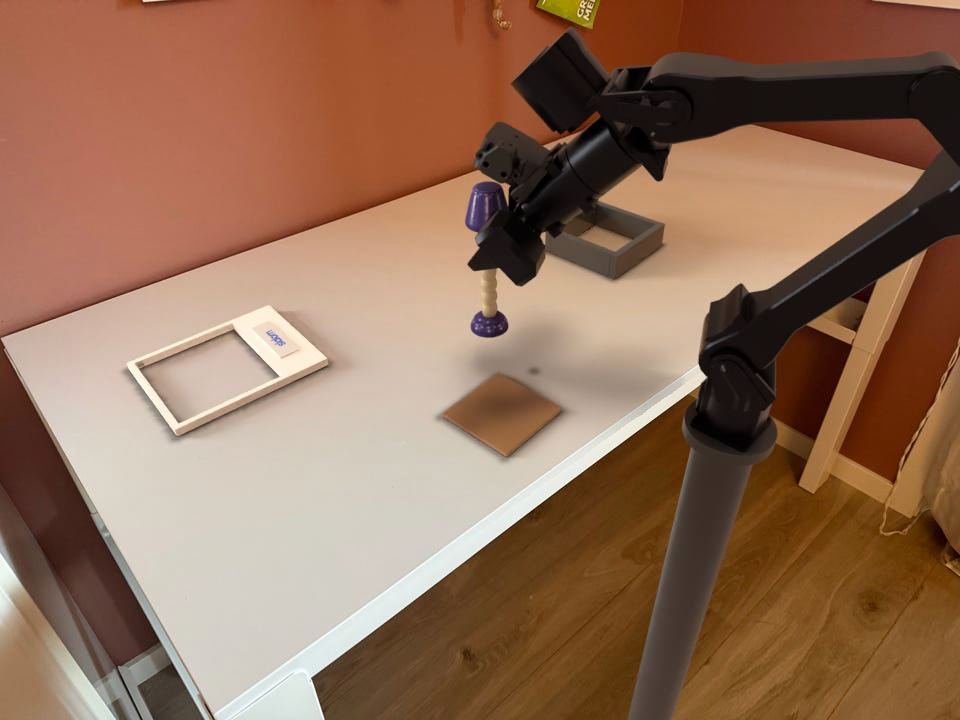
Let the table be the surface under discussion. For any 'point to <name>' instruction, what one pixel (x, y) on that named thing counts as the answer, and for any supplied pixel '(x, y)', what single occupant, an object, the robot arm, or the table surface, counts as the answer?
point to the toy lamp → (489, 318)
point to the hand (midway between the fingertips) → (477, 257)
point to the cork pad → (502, 414)
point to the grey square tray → (602, 259)
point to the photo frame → (266, 338)
